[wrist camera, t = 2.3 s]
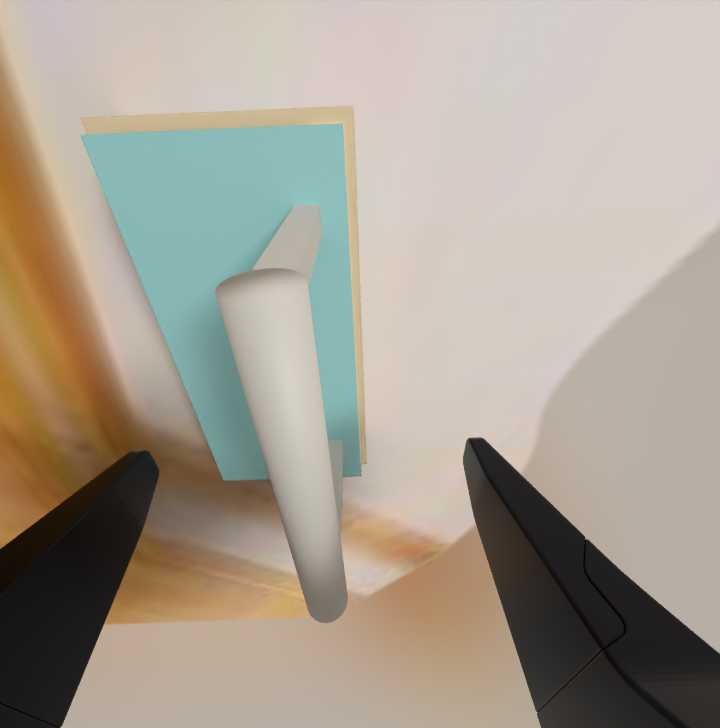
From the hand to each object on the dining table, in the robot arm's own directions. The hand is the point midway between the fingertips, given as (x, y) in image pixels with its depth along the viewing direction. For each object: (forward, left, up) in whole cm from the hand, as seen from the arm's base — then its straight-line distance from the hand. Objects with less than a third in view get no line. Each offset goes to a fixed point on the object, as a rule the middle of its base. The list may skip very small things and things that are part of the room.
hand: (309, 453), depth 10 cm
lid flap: (0, +2, -6) cm, 6 cm away
